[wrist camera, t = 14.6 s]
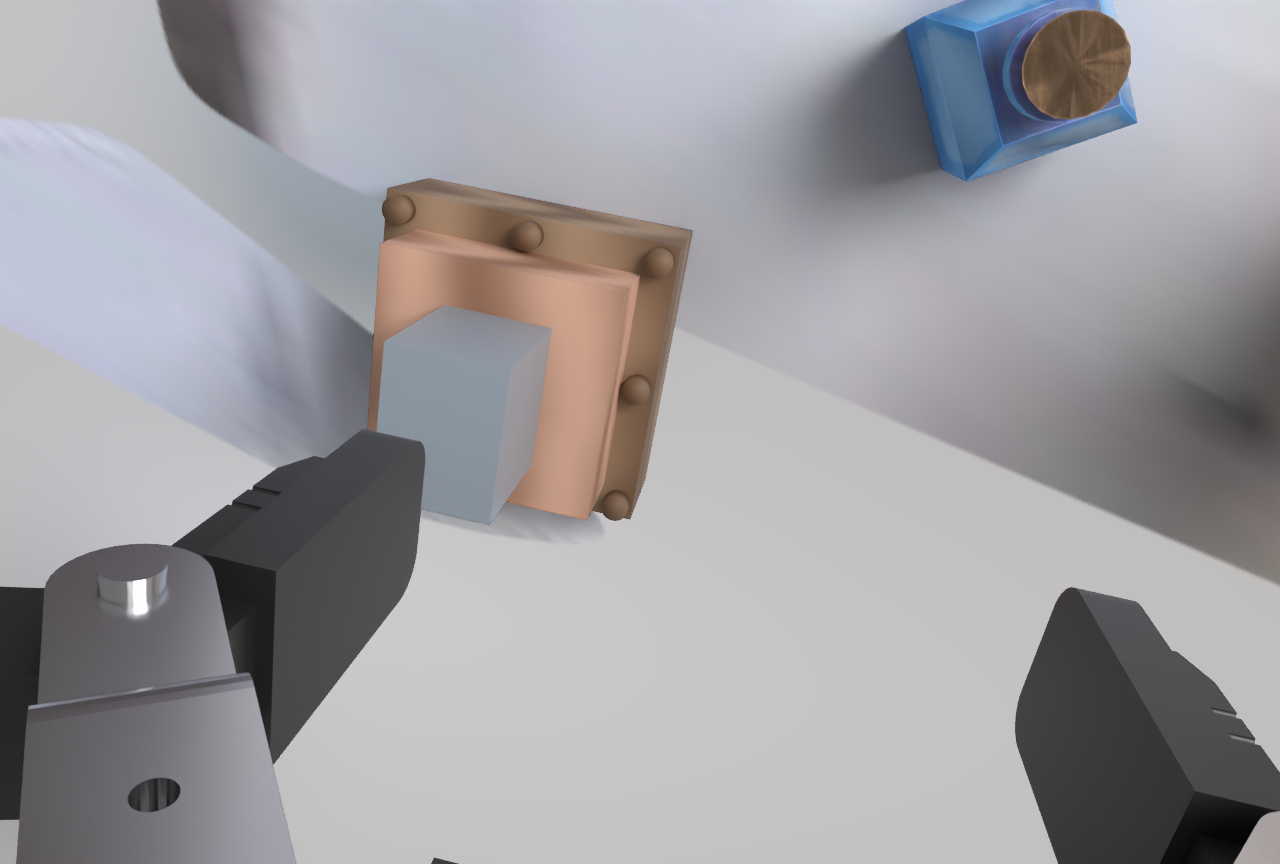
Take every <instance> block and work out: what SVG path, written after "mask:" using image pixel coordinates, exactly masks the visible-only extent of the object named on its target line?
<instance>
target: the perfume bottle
mask: <svg viewBox="0 0 1280 864" xmlns="http://www.w3.org/2000/svg"><path fill="white" fill-rule="evenodd" d="M904 29H905V32H906V36H907V40H908V44H909V47H910V51H911V55H912V59H913V63H914V66H915V70H916V74H917V78H918V81H919V85H920V89H921V93H922V97H923V100H924V104H925V108H926V112H927V116H928V119H929V123H930V127H931V131H932V134H933V138H934V142H935V146H936V150H937V153H938V157H939V161H940V165H941V168H942V170H944V171H946V172H948V173H950V174H952V175H954V176H956V177H958V178H960V179H962V180H964V181H969V180H972V179H975V178H978V177H980V176H983V175H986V174H989V173H992V172H995V171H998V170H1001V169H1004V168H1007V167H1010V166H1013V165H1015V164H1018V163H1021V162H1024V161H1027V160H1030V159H1033V158H1036V157H1039V156H1042V155H1045V154H1048V153H1050V152H1053V151H1056V150H1059V149H1062V148H1065V147H1068V146H1071V145H1074V144H1077V143H1080V142H1083V141H1085V140H1088V139H1091V138H1094V137H1097V136H1100V135H1103V134H1106V133H1109V132H1112V131H1115V130H1118V129H1121V128H1123V127H1126V126H1129V125H1132V124H1135V123H1137V118H1136V113H1135V108H1134V103H1133V99H1132V94H1131V89H1130V84H1129V79H1128V71H1129V68H1130V64H1131V52H1130V44H1129V41H1128V39H1127V36H1126V34H1125V31H1124V30H1123V28H1122V27H1121V26H1120V25H1119V24H1118V23H1117V20H1116V15H1115V10H1114V5H1113V0H965V1H963V2H960V3H957V4H955V5H952V6H950V7H947V8H945V9H942V10H940V11H937V12H934V13H932V14H929V15H927V16H924V17H922V18H920V19H919V20H917V21H915V22H913V23H912V24H910V25H908V26H906V27H905V28H904Z"/></svg>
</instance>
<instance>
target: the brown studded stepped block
mask: <svg viewBox="0 0 1280 864" xmlns="http://www.w3.org/2000/svg"><path fill="white" fill-rule="evenodd" d="M382 213H383V216H384V218H385V229H384V242H382V243H380V256H379V269H378V283H377V298H376V312H375V326H374V334H373V354H372V369H371V383H370V397H369V411H368V426H367V430H371V431H375V432H377V422H378V409H379V397H380V385H381V373H382V361H383V349H384V341H386V340H387V339H389V338H391V337H392V336H394V335H396V334H397V333H399V332H401V331H402V330H404V329H405V328H407V327H409V326H410V325H412V324H414V323H415V322H417V321H419V320H420V319H422V318H423V317H425V316H427V315H428V314H430V313H432V312H433V311H435V310H437V309H438V308H440V307H441V306H443V305H448V306H452V307H457V308H462V309H466V310H471V311H475V312H480V313H485V314H489V315H494V316H498V317H503V318H508V319H512V320H517V321H521V322H526V323H530V324H535V325H540V326H544V327H549V328H552V334H551V340H550V347H549V354H548V360H547V367H546V374H545V380H544V387H543V393H542V400H541V407H540V413H539V420H538V427H537V433H536V440H535V447H534V453H533V460H532V465H531V466H530V468H529V469H528V470H527V472H526V473H525V475H524V476H523V478H522V479H521V481H520V482H519V483H518V485H517V486H516V488H515V489H514V491H513V492H512V493H511V495H510V496H509V498H508V499H507V501H506V502H508V503H512V504H517V505H521V506H525V507H530V508H534V509H539V510H543V511H548V512H552V513H556V514H561V515H565V516H570V517H574V518H579V519H583V520H587V519H588V517H589V515H590V513H591V511H595V512H600V513H603V514H604V516H605V517H606V518H608V519H610V520H614V521H616V520H621V519H622V518H626V519H630V518H631V515H632V513H633V510H634V508H635V505H636V502H637V500H638V497H639V494H640V492H641V489H642V486H643V484H644V481H645V478H646V472H647V467H648V462H649V457H650V452H651V446H652V441H653V436H654V431H655V425H656V420H657V415H658V409H659V404H660V399H661V394H662V389H663V383H664V378H665V373H666V368H667V362H668V357H669V352H670V347H671V341H672V336H673V331H674V326H675V320H676V315H677V310H678V305H679V299H680V294H681V289H682V284H683V279H684V273H685V268H686V263H687V258H688V252H689V247H690V242H691V237H692V230H687V229H682V228H677V227H672V226H667V225H662V224H657V223H652V222H647V221H641V220H636V219H631V218H626V217H621V216H616V215H611V214H606V213H601V212H596V211H591V210H586V209H581V208H576V207H571V206H566V205H561V204H556V203H551V202H546V201H540V200H535V199H530V198H525V197H520V196H515V195H510V194H505V193H500V192H495V191H490V190H485V189H480V188H475V187H470V186H465V185H460V184H455V183H450V182H445V181H440V180H434V179H429V178H428V179H424V180H420V181H416V182H411V183H407V184H403V185H399V186H394V187H390V188H387V199H386V200H385V201H384V203H383V205H382Z"/></svg>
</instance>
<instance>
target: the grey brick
mask: <svg viewBox="0 0 1280 864" xmlns="http://www.w3.org/2000/svg"><path fill="white" fill-rule="evenodd" d="M551 334H552V328H549V327H544V326H540V325H535V324H530V323H526V322H521V321H517V320H512V319H508V318H503V317H498V316H494V315H489V314H485V313H480V312H475V311H471V310H466V309H462V308H457V307H452V306H448V305H443V306H441V307H440V308H438V309H437V310H435V311H433V312H432V313H430V314H428V315H427V316H425V317H423V318H422V319H420V320H419V321H417V322H415V323H414V324H412V325H410V326H409V327H407V328H405V329H404V330H402V331H401V332H399V333H397V334H396V335H394V336H392V337H391V338H389V339H387V340H386V341H384V349H383V361H382V373H381V385H380V397H379V409H378V422H377V432H380V433H384V434H389V435H393V436H398V437H402V438H407V439H411V440H416V441H420V442H421V443H422V444H423V446H424V449H425V471H424V481H423V492H422V502H421V509H422V510H427V511H431V512H435V513H439V514H443V515H448V516H452V517H456V518H460V519H465V520H469V521H473V522H477V523H482V524H486V525H490V524H491V522H492V521H493V519H494V518H495V516H496V515H497V514H498V512H499V511H500V509H501V508H502V506H503V505H504V504H505V502H506V501H507V499H508V498H509V496H510V495H511V493H512V492H513V491H514V489H515V488H516V486H517V485H518V483H519V482H520V481H521V479H522V478H523V476H524V475H525V473H526V472H527V470H528V469H529V468H530V466H531V465H532V460H533V453H534V447H535V440H536V433H537V427H538V420H539V413H540V407H541V400H542V393H543V387H544V380H545V374H546V367H547V360H548V354H549V347H550V340H551Z"/></svg>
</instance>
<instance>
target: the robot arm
mask: <svg viewBox="0 0 1280 864" xmlns="http://www.w3.org/2000/svg"><path fill="white" fill-rule="evenodd" d="M424 471H425V449H424V446H423V444H422V443H421V442H420V441H416V440H411V439H407V438H402V437H398V436H393V435H389V434H384V433H380V432H375V431H371V430H366V429H364V430H361V431H360V432H358V433H357V434H356V435H354V436H353V437H352V438H351V439H349V440H348V441H347V442H345V443H344V444H343V445H342V446H340V447H339V448H338V449H337V450H335V451H334V452H333V453H331V454H330V455H329V456H328V457H326V458H320V457H316V456H313V457H310V458H307V459H304V460H301V461H298V462H295V463H292V464H289V465H285V466H282V467H279V468H277V469H276V470H274V471H273V472H272V473H270V474H269V475H267V476H266V477H265V478H263V479H262V480H261V481H259V482H258V483H257V484H255V485H254V486H253V489H252V490H247V491H246V492H244V493H243V494H241V495H240V496H239V497H237V498H236V499H235V500H233V503H232V505H226V506H225V507H224V508H222V509H221V510H219V511H218V512H217V513H215V514H214V515H213V516H211V517H210V518H209V519H207V520H206V521H205V522H203V523H202V524H200V525H199V526H198V527H196V528H195V529H193V530H192V531H191V532H189V533H188V534H187V535H185V536H184V537H183V538H181V539H180V540H178V541H177V542H176V543H174V544H173V545H172V546H167V545H159V544H130V545H122V546H114V547H109V548H104V549H100V550H97V551H93V552H90V553H87V554H84V555H82V556H79V557H77V558H75V559H73V560H71V561H69V562H67V563H65V564H64V565H63V566H61V567H60V568H58V569H57V570H56V571H55V572H54V573H53V574H52V575H51V576H50V578H49V579H48V581H47V582H46V586H45V588H20V587H19V588H17V587H0V820H19V832H18V846H17V860H16V864H296V860H295V855H294V851H293V847H292V843H291V839H290V835H289V830H288V826H287V822H286V818H285V814H284V809H283V805H282V801H281V797H280V792H279V788H278V784H277V780H276V776H275V772H274V767H273V764H274V763H275V762H276V760H277V759H278V758H279V757H280V755H281V754H282V753H283V751H284V750H285V749H286V747H287V746H288V745H289V744H290V742H291V741H292V740H293V738H294V737H295V735H296V734H297V733H298V732H299V731H300V729H301V728H302V726H303V725H304V724H305V723H306V721H307V720H308V719H309V718H310V716H311V715H312V714H313V712H314V711H315V710H316V708H317V707H318V706H319V705H320V703H321V702H322V701H323V699H324V698H325V697H326V695H327V694H328V693H329V692H330V690H331V689H332V688H333V686H334V685H335V684H336V683H337V681H338V680H339V679H340V677H341V676H342V675H343V673H344V672H345V671H346V670H347V668H348V667H349V665H350V664H351V663H352V661H353V660H354V659H355V658H356V657H357V655H358V654H359V653H360V651H361V650H362V649H363V647H364V646H365V645H366V643H367V642H368V641H369V639H370V638H371V637H372V636H373V634H374V633H375V632H376V630H377V629H378V628H379V627H380V625H381V624H382V622H383V621H384V620H385V619H386V617H387V616H388V615H389V614H390V612H391V611H392V610H393V608H394V607H395V606H396V605H397V603H398V602H399V601H400V599H401V598H402V596H403V594H404V592H405V590H406V588H407V586H408V583H409V581H410V578H411V575H412V572H413V568H414V564H415V558H416V553H417V544H418V543H417V542H418V533H419V523H420V513H421V502H422V492H423V481H424ZM1015 734H1016V742H1017V746H1018V750H1019V753H1020V756H1021V758H1022V761H1023V764H1024V767H1025V770H1026V773H1027V776H1028V778H1029V781H1030V784H1031V787H1032V790H1033V793H1034V796H1035V798H1036V801H1037V804H1038V807H1039V810H1040V813H1041V816H1042V818H1043V821H1044V824H1045V827H1046V830H1047V833H1048V836H1049V838H1050V842H1051V844H1052V847H1053V850H1054V853H1055V856H1056V858H1057V861H1058V864H1280V772H1279V771H1278V770H1277V768H1276V767H1275V765H1274V764H1273V763H1272V761H1271V760H1270V758H1269V757H1268V756H1267V754H1266V753H1265V752H1264V750H1263V749H1262V747H1261V746H1260V745H1255V738H1254V736H1253V735H1252V734H1251V732H1250V731H1249V729H1248V728H1247V727H1246V725H1245V724H1244V722H1243V721H1242V720H1241V719H1238V718H1236V711H1235V710H1234V709H1233V707H1232V706H1231V704H1230V703H1229V702H1228V700H1227V699H1226V698H1225V696H1224V695H1223V693H1222V692H1221V691H1220V689H1219V688H1218V686H1217V685H1216V684H1215V683H1214V682H1213V681H1212V680H1211V679H1210V678H1209V677H1207V676H1206V675H1205V674H1204V673H1202V672H1201V671H1200V670H1199V669H1198V668H1196V667H1195V666H1194V665H1193V664H1191V663H1190V662H1189V661H1188V660H1186V659H1185V658H1184V657H1183V656H1181V655H1180V654H1179V653H1178V652H1175V651H1172V650H1171V649H1170V647H1169V646H1168V645H1167V643H1166V642H1165V640H1164V639H1163V637H1162V636H1161V634H1160V633H1159V632H1158V630H1157V629H1156V627H1155V626H1154V624H1153V623H1152V621H1151V620H1150V618H1149V617H1148V615H1147V614H1146V613H1145V611H1144V610H1143V608H1142V607H1141V606H1140V605H1139V603H1137V602H1135V601H1131V600H1127V599H1122V598H1118V597H1113V596H1108V595H1104V594H1100V593H1095V592H1090V591H1086V590H1082V589H1077V588H1072V587H1071V588H1068V589H1066V590H1065V591H1064V592H1063V593H1062V594H1061V595H1060V597H1059V598H1058V600H1057V602H1056V604H1055V606H1054V609H1053V611H1052V614H1051V616H1050V619H1049V621H1048V624H1047V627H1046V629H1045V632H1044V635H1043V637H1042V640H1041V642H1040V645H1039V647H1038V650H1037V653H1036V655H1035V658H1034V660H1033V663H1032V666H1031V669H1030V671H1029V673H1028V676H1027V678H1026V681H1025V684H1024V686H1023V689H1022V691H1021V694H1020V697H1019V701H1018V706H1017V712H1016V721H1015ZM431 864H457V863H453V862H449V861H445V860H441V859H438V858H434V859H433V861H432V863H431Z"/></svg>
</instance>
